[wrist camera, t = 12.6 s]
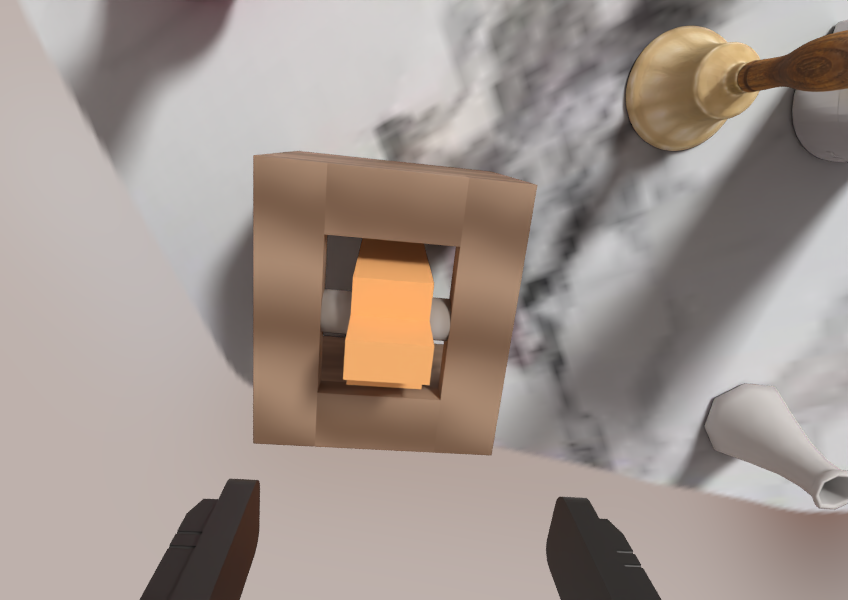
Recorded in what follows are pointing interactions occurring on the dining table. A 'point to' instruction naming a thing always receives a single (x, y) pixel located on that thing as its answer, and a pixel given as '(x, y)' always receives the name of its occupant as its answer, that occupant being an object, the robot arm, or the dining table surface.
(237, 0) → the dining table surface
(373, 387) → the brown square frame
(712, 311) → the dining table surface
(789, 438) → the flask
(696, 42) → the hand bell
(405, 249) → the stepped orange block
